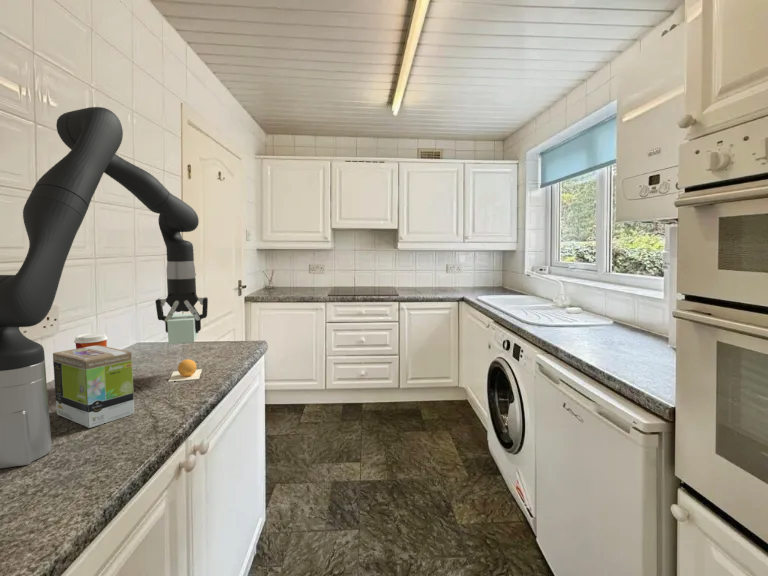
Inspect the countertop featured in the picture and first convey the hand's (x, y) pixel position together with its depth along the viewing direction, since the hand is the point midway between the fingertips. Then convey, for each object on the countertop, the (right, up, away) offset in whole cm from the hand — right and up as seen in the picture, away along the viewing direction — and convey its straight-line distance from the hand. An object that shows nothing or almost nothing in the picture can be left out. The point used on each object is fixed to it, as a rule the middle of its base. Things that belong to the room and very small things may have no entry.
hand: (183, 333), depth 124 cm
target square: (0, -13, +1) cm, 13 cm away
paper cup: (-21, -14, -7) cm, 26 cm away
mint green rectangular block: (0, -2, 0) cm, 2 cm away
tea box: (-7, -16, -27) cm, 32 cm away
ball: (+1, -10, +1) cm, 10 cm away
